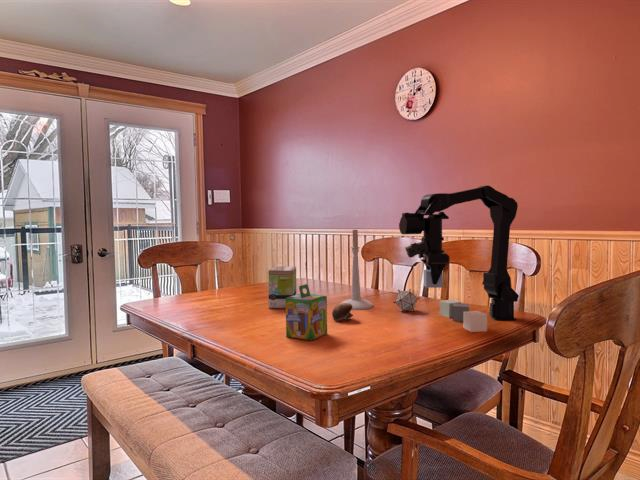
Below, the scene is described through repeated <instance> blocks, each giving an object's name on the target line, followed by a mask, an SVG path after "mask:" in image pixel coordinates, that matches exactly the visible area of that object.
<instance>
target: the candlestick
mask: <svg viewBox="0 0 640 480" xmlns="http://www.w3.org/2000/svg"><path fill="white" fill-rule="evenodd" d="M358 233H359V231H358V229H352V246H351V247H350V249H351V252H352V255H353V256H352V270H351V271H352V272H351V273H352V274H351V296H350V299H349V298H348V299H346V300H343V301H342V302H340V303H339V304H341V303H350V304H351V305H352V310H353V311H357V310H358V311H359V310H360V311H361V310H369V309H372V308H373V306H374V305H373V303H372V302H371V301H369V300H366V299H362V296H361V285H360V282H361V281H360V268H359V267H360V266H359V256H358V254H359V249H360V246H359V234H358ZM352 310H351V311H352Z"/></svg>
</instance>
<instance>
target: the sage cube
mask: <svg viewBox="0 0 640 480" xmlns="http://www.w3.org/2000/svg"><path fill="white" fill-rule="evenodd" d="M453 303H461V304H462V302H461V301H459V300H454V299H446V300H440V301H439V316H443V317H445V318H448V319H451V318H452V319H453Z"/></svg>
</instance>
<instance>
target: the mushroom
mask: <svg viewBox="0 0 640 480" xmlns="http://www.w3.org/2000/svg"><path fill="white" fill-rule="evenodd" d="M340 303H341V302H340ZM340 303H339V304H337V305H336V306H334V308H333V309H332V312H331V315H332V318H333V320H334V321H341V320H343V319H344V320H345V321H346V320H347V321H348V320H350V319H351V318H352V317H353V316H354V314H352V313H351V312H352V305H351V304H350V303H341V304H340Z"/></svg>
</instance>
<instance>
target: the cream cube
mask: <svg viewBox="0 0 640 480" xmlns="http://www.w3.org/2000/svg"><path fill="white" fill-rule="evenodd" d="M462 323H463V325H462V326H463V329H465V330H467V331H468V332H470V333H474V332H475V333H476V332H480V333H482V332H488V314H487V313H484V312H482V311H481V310H475V311H474V310H469V311H468V312H463V322H462Z"/></svg>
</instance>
